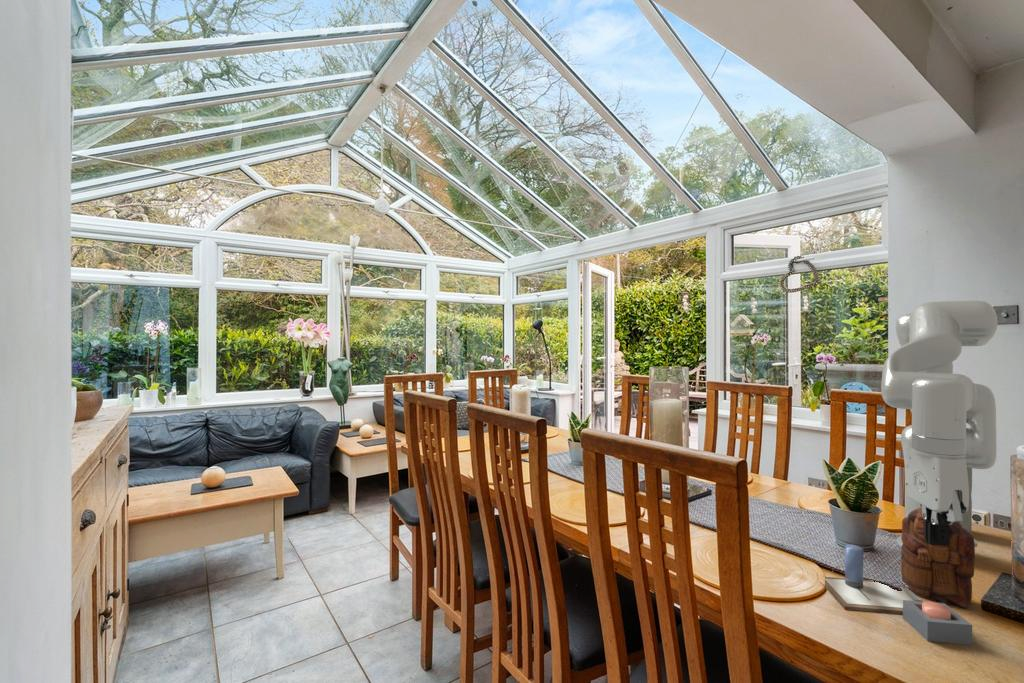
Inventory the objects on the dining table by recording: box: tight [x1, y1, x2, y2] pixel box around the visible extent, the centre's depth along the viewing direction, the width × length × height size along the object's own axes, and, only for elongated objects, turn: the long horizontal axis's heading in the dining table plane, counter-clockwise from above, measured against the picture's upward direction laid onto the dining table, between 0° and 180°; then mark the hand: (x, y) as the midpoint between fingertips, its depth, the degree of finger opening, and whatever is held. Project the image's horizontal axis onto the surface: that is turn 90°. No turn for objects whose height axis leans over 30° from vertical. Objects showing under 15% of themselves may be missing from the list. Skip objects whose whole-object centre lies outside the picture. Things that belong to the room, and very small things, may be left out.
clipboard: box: [824, 576, 923, 615], centre depth 101 cm, size 16×12×1 cm
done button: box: [922, 600, 951, 620], centre depth 90 cm, size 4×4×4 cm
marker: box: [844, 544, 864, 589], centre depth 105 cm, size 3×3×8 cm
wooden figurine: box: [900, 508, 976, 609], centre depth 102 cm, size 12×6×18 cm, turn 44°
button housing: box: [902, 600, 973, 646], centre depth 90 cm, size 7×7×4 cm
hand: (936, 543), depth 90 cm, fingers closed
